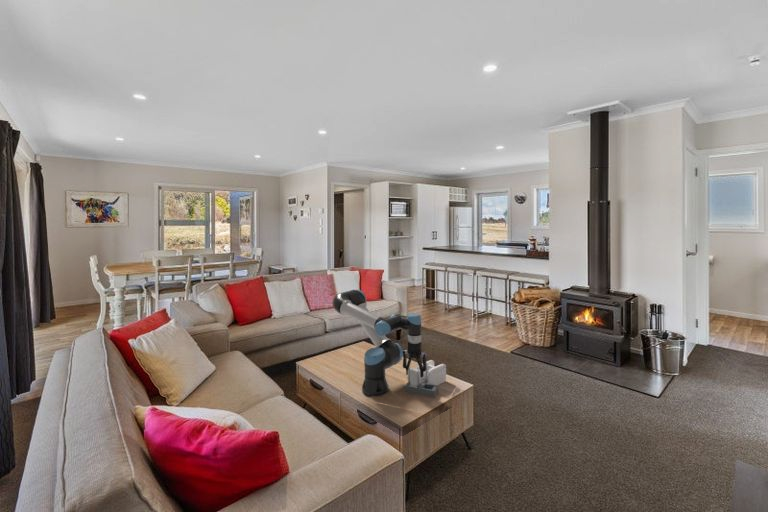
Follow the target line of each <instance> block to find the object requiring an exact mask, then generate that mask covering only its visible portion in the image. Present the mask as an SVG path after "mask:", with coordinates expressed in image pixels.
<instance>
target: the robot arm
mask: <svg viewBox="0 0 768 512" xmlns="http://www.w3.org/2000/svg"><path fill="white" fill-rule="evenodd" d="M332 306H333V309H334V310H335V312H336V313H338V314H340V315H342V316H348V317H350V318H352V319H354V320H356V321H358V322H359V324H360V326H361V327H362V328H363V330H364V332H366V334H367V336H368V337H369V339H370V341H371V342H372V344H374V347H371V348H369V349H367V350H366V351H365V353H364V359H363V361H364V362H363V363H364V379H363V382H362V387H361V392H362V393H363V395H364V396H367V397H381V396H384V395H385V394H387V393H388V392H389V390H390V389H389V387H390V386H389V384H388V381H387V377H386V370H387V369H389V368H391V367H393V366H395V365H397V364H399V362H401V360H402V368H403V369H405V375H407V382H409V381H410V370H411V369H412V368H411V367H410V366H411V363H412V360H413V359H416V362H417V366H418V365H419V368H420V371H419V383H421V382H422V377H423V371H424V372H425V371H426V370H427V365H426V362H427V352H423V350H422V316H421V314H419V313H415V312H414V313H412V312H411V313H409V314H407V315H403V314H398V313H392V314H391V315H390V317H388V318H384V317H382V316H380V315H378V314H375V313H373V312H371V311H369V309H368V308H367V296H366V295H365V292H363V291H362V290H361V289H351V290H348V291H343V292H340V293H337V294H336V295H335V296H334V298H333V299H332ZM400 329H401V330H406V331H407V349H404V350H403V348H402V346H401V345H400V344H399V343H396V342H394V341H393V340H392V339H391V338H388V337H387V336H386V335H388V334H391V333H393V332H396V331H398V330H400ZM421 357H422V359H421ZM422 363H423V365H422Z"/></svg>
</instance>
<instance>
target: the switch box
mask: <svg viewBox="0 0 768 512" xmlns="http://www.w3.org/2000/svg"><path fill="white" fill-rule="evenodd" d="M404 390H405V391H404V392H406V393H411V394H415V395H422V396H426V397H431V398H435V397H436V396H437V394H438V393H439V385H432V384H427V382H426V383H425V382H423V383H419V386H418V387H414V386H410V381H407V383H406V384H405V385H404Z"/></svg>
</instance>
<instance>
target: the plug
mask: <svg viewBox="0 0 768 512" xmlns="http://www.w3.org/2000/svg"><path fill="white" fill-rule="evenodd" d="M410 386H414V387H418V386H419V369H417V368H414V367H412V368H411V370H410Z"/></svg>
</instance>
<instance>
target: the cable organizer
mask: <svg viewBox="0 0 768 512" xmlns="http://www.w3.org/2000/svg"><path fill="white" fill-rule="evenodd" d="M422 365H423V362H422ZM426 365H427V370H426V371H425V372H424V371H423V377H422V382H421V383H425V382H426V384H432V385H437V386H439V385H441V384H443V383H445V381H447V365H446V363H441V364H438V365H436V366H435V361H434V360H433V359H430V360H426ZM416 369H419V371H420V368H419V365H418V364H417V367H416Z"/></svg>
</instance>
